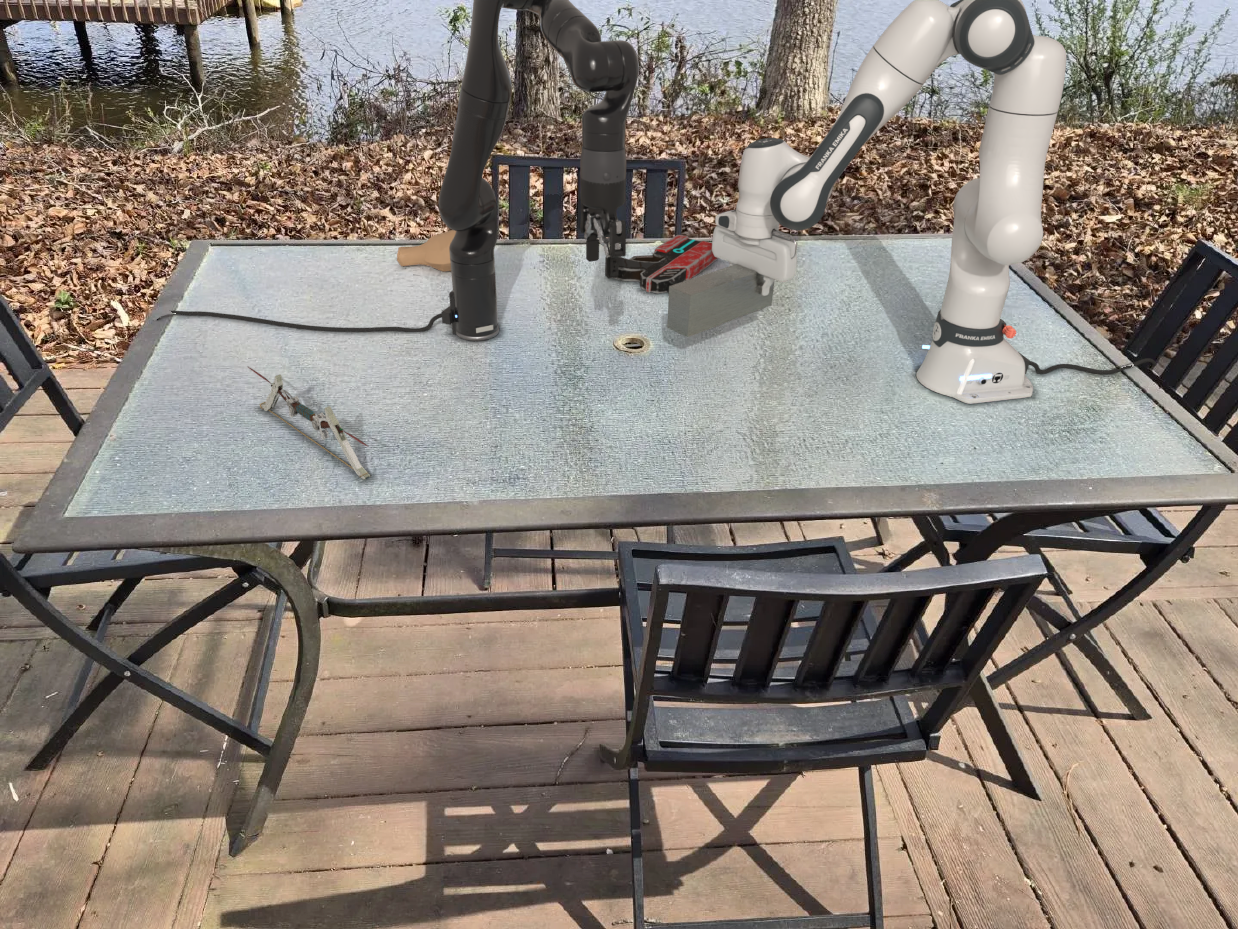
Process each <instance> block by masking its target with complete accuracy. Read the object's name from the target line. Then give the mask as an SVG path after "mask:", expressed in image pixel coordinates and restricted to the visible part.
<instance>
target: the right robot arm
mask: <svg viewBox="0 0 1238 929" xmlns="http://www.w3.org/2000/svg"><path fill="white" fill-rule="evenodd" d="M1029 20H1030V19H1029V17H1028V15H1027V10H1026V7H1025V5H1024V3H1023V1H1022V0H957V1H955V2H953V3H952V4H950V5H948V4H946V3H945V2H943V1H941V0H913V1H911V2H910V3H909V4H908V5H907V6H906V7H905V8H904V9H903V10H902V11H901V12H900V13H899V14H898V15H897V16H896V17H895V18H894V20H892V21H891V23H890V24H889V25H888V26H887V27H886V29H885V30H884V31H883V32H882V34H881V35H880V36H879V37H878V39H877V40H876V41H875V42H874V44H873V46H872V47H871V48H870V49H869V51H868V53H866V56H865V57H864V59H863V61H862V62H861V64H860V66H859V68H858V69H857V71H856V74H855V75H854V76H853V80H851V83H850V86H849V89H848V91H847V94H846V96H845V99H844V102H843V104H842V107H841V109H840V112H839V114H838V116H837V118H836V120H835V122H833V125H832V126H831V128H830V130H828V132H827V134H826V135H825V136H824V138H823V139H822V141H821V142H820V143H819V144H818V146H817V147H816V149H815V150H814V151H813V153H812V154H811V155H810V157H809V156H807V155H805V154H802V153H800V152H799V151H797V150H795V149H794V148H793V147H791V146H790V145H789V144H788V143H787V142H786V141H785V140H784V139H782V138H777V137H766V138H765V137H764V138H760V139H758V140H754V141H752V142H751V143H749V144H748V145H747V146H746V147H745V148H744V150H743V153H742V156H741V161H740V165H739V173H738V182H737V189H738V194H739V195H738V199H737V202H736V206H735V209H732V210H727V211H724V212H721V213H718V214H716V215H715V220H714V223H715V225H716V226H715V227H714V229H713V233H712V238H711V243H712V252H713V254H714V256H715V257H717V258H718V259H720V260H722V261H724V262H727V263H729V265H728V267H729V266H732V265H735V264H738V265H741V266H743V267H746V268H749V269H751V270H754V271H757V272H758V273H759V274H761V275H764V280H765V283H764V284H763V285H761V286H759V291H758V293H759V294H761V295H763V296H766V295H768V294H769V289H770V286H771V285H772V283H773V282H774V283H775V281H777V282H779V283H786V282H789V281H791V280H793V279H794V278H795V277H796V275H797V271H798V270H797V269H798V253H797V252H798V243H797V241H796V239H794V237H793V235H791V234H790V233H786V232H783V231H781V230H780V226H782V227H784V228H786V229H788V230H791V231H805V230H808V229H811V228H812V227H814V226H816V225H817V224H818V223H819V222H820V221H821V219H822V218H823V216H824V213H825V210H826V208H827V204H828V202H829V200H830V197H831V195H832V193H833V190H834V186H835V184H836V183H837V181H838V180H839V178H840V177H841V175H842V174H843V173H844V171H845V170H846V169H847V167H848V166H849V165H850V163H851V162H852V161H853V160H854V158H855V157H856V155H858V153H859V151H860V150H861V149H862V148H863V146H864V145H865V144H866V143H868V141H869V140H870V139H871V138H872V137H873V136H874V135H875V134H876V133H877V132H879V130H881V129H882V128H883V127H884V125H886V124H887V123H888V122H890V121H891V120H892V119H893V118H894V117H895V116H896V115H897V114H898V113H899V112H900V111H901V110H902V109H903V108H905V106H906V105H907V104H908V103H909V102H910V101H911V100H912V99H913V97H914V96H915V95H916V94H917V93H918V92H919V91H920V89H922V87H923V85H924V84H925V83H926V82H927V81H928V79H929V78H930V77H931V75H932V74H933V72H935V70H936V69H937V68H938V67H939V66H940V65H941V64H942V63H943V62H944V61H945V60H947V59H948V58H950V57H952V56H956V55H961V57H962V58H963V59H964V60H965V61H966V62H968V63H969V64H971V65H972V66H975V67H977V68H981V69H983V70H985V71H988V72H990V73H993V75H994V76H993V78H994V80H993V87H992V93H991V97H990V101H989V104H988V109H987V114H986V118H985V122H984V127H983V131H982V135H981V140H980V144H979V148H978V149H979V150H978V160H979V177H978V178H975V179H972V180H969V181H968V182H967V183H965V184H964V185H963V186H961V187H960V188H959V190H958V191H957V192H956V194H955V197H954V200H953V203H952V204H953V205H952V209H953V210H952V211H953V226H952V227H953V228H952V236H951V247H950V263H949V273H948V277H947V283H946V287H945V291H944V295H943V299H942V303H941V308H940V309H939V310H938V312H937V315H936V317H935V318H936V319H935V322H934V324H933V329H932V335H931V342H930V345H929V344H927V345H926V344H922V346H921V348H922V349H927V353H926V355H925V356H924V359H923V361H922V363H921V364H920V367H919V368H918V369H917V372H916V374H915V375H916V376H915V377H916V379H917V381H918V383H920V384H921V385H922V386H924V387H925V388H926V389H928V390H931V391H932V392H935V393H937V394H940V395H943V396H947V397H950V398H953V399H956V400H957V401H960V402H962V403H965V404H968V405H973V404H981V403H989V402H1000V401H1007V400H1017V399H1024V398H1025V399H1026V398H1031V397H1032V396H1033V393H1034V386H1033V384H1032V382H1031V381H1030V379H1029V378H1028V377H1027V376H1026V375H1027V372H1028V370H1029V366H1031V367H1032V368H1034V371H1035V373H1037V374H1039V375H1046V374H1049V373H1052V372H1054V371H1055V370H1059V369H1071V370H1076V371H1081V372H1085V373H1089V374H1093V375H1094V374H1095V375H1113V374H1117V373H1119V372H1122V371H1125V370H1128V369H1132V368H1133V367H1132V365H1131V366H1126V367H1123V368H1121V369H1117V368H1119V367H1120V366H1119V367H1116V368H1113V369H1097V368H1091V367H1086V366H1083V365H1078V364H1074V363H1073V364H1072V363H1059V364H1055V365H1052V366H1050V367H1048V368H1045V369H1041V368H1040V366H1039V364H1038V363H1036V362H1035V361H1033V360H1030V359H1029V358H1028V357H1026V356H1024V355H1023V354H1022V353H1021V352H1020V351H1018V350H1017V349H1016V348H1015V347H1014V346H1013V345H1012V344H1011V343H1010V342H1009V341H1008V340H1007V339H1014V337H1016V335H1017V330H1016V328H1014V327H1013V326H1012V325H1009V324H1008V325H1007V322H1006V321H1005V320H1003V319H1002V318H1001V317H1002V314H1003V311H1004V307H1005V303H1006V301H1007V297H1008V293H1009V290H1010V285H1011V278H1010V266H1014V265H1018V264H1021V263H1023V262H1026V261H1028V259H1030V258H1032V257H1033V256H1034V254H1036V253H1037V251H1038V250H1039V248H1040V246H1041V244H1042V242H1043V239H1044V227H1043V221H1042V205H1043V195H1044V193H1043V192H1044V191H1043V190H1044V180H1045V169H1046V168H1045V167H1046V160H1047V155H1048V151H1049V147H1050V143H1051V139H1052V135H1053V131H1054V128H1055V124H1056V120H1057V116H1058V113H1059V110H1060V105H1061V101H1062V97H1063V91H1064V85H1065V77H1066V70H1067V51H1066V49H1065V47H1064V46H1063V44H1062V43H1061V42H1059V41H1058V40H1056V39H1054V38H1052V37H1050V36H1045V35H1035V34H1033V32H1032V28H1031V24H1030V21H1029ZM1004 336H1005V337H1006V338H1007V339H1005V338H1004ZM1132 363H1133V364H1134V366H1135V367H1137V366H1140V365H1142V364H1146V363H1149V364H1150V366H1154V367H1155V366H1157V362H1156V360H1154V359H1153V358H1149V357H1148V358H1141V359H1138V360H1136V361H1133V362H1132ZM1131 367H1132V368H1131Z"/></svg>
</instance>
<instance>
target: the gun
mask: <svg viewBox="0 0 1238 929" xmlns="http://www.w3.org/2000/svg"><path fill="white" fill-rule="evenodd" d="M717 260H719V258H717V257H715V256H714V254H713V252H712V241H711V242H710V241H707V240H702V241H701V240H698V239H693V238H689V236H688V235H683V234H676V235H675V236H673V237H671V238H670V239H668V240H666V241H665V242H662V244H659V245H657V246H656V247H655V248H654V251H653V252H652V254H647V255H645V254H643V255H633V256H632V257H630V258H625V257H624V256H621V257H619V272H618V277H616V278H613V279H615V280H618V281H620V282H639V288H640V289H641V290H642V291H645V292H646V293H649V294H650V293H654V294H657V295H658V294H663V293H668V294H669V286H672V285H675V284H678V283H681V282H684V281H687V280H690V279H693V278H695V277H697V276H698V275H699V274H700V273H701V272H703V271H705V269H707V268H708V267H709V266H710V265H712V264H713V263H714V262H716V261H717Z"/></svg>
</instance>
